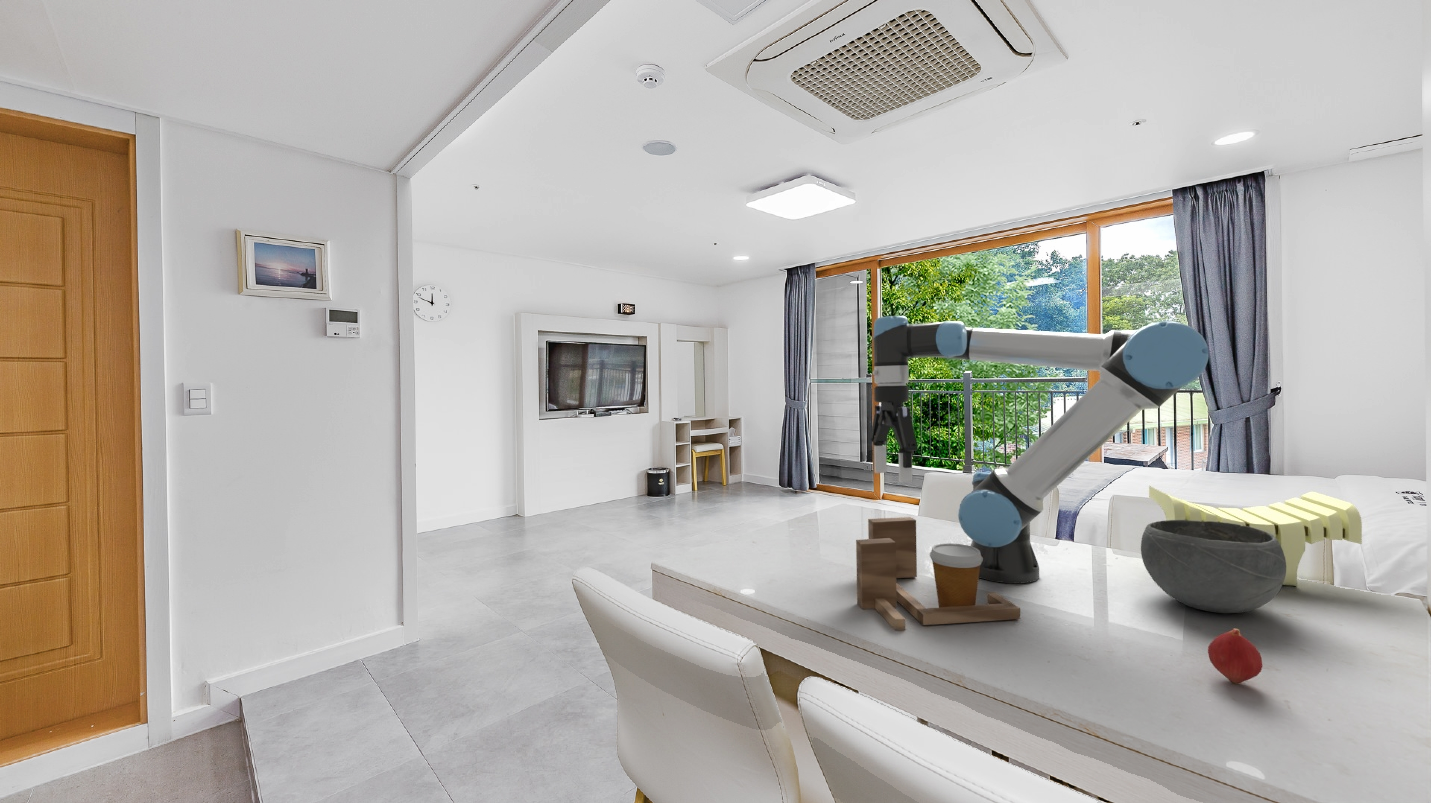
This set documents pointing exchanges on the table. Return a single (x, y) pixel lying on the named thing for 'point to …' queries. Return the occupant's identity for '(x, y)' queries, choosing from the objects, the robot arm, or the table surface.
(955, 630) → the table surface
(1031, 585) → the table surface
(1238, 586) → the bowl
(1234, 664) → the onion
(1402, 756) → the table surface
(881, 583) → the wooden mallet
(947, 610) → the bent wooden rail
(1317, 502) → the slatted curved stool
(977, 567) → the disposable coffee cup
